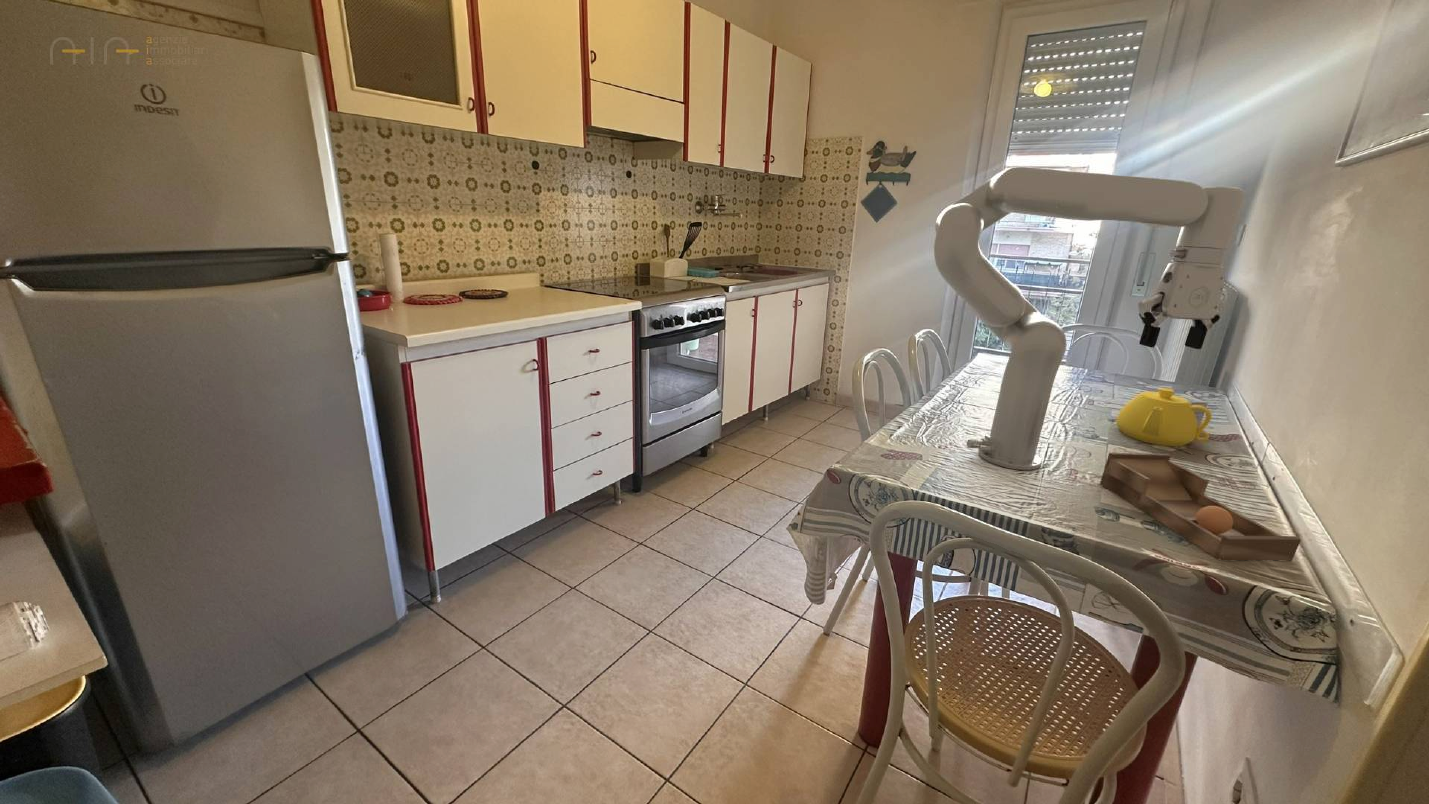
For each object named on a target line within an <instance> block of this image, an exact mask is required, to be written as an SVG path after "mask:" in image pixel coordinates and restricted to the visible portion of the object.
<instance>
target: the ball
mask: <svg viewBox="0 0 1429 804" xmlns="http://www.w3.org/2000/svg"><path fill="white" fill-rule="evenodd" d="M1196 521H1197V523H1198V525H1199V526H1201V527H1203V528H1204V529H1206V530H1208V531H1209V532H1211V533H1213V534H1221V533H1225V532H1227V531H1228V530H1230V529H1231V527H1232V525H1233V518H1232V516H1231V514H1230V513H1229V512H1228V511H1227V510H1225V509H1223V508H1221V507H1218V506H1206V507H1204V508H1202V509H1200V510H1199V511H1198V513H1197V515H1196Z"/></svg>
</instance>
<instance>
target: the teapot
mask: <svg viewBox="0 0 1429 804" xmlns="http://www.w3.org/2000/svg"><path fill="white" fill-rule="evenodd" d="M1174 393H1176V391H1175V390H1174V389H1171V388H1166V387H1159V388H1158V391H1143V392H1140V393H1139V394H1137V395H1136V396H1134V397H1133V398H1132V399H1130V400H1129V401H1128V402H1127V403H1126V404H1125V405H1124V406H1123V407H1122V408H1121V410H1120V411H1119V413H1118V415H1117V417H1116V419H1115V422H1116V425H1117V427H1118V429H1119V430H1120V431H1122V432H1121V433H1122V434H1123V435H1125V434H1126V436H1127V437H1129V438H1132V439H1134V440H1137V441H1140V440H1141V442H1144V443H1148V444H1152V445H1157V446H1163V447H1171V446H1173V448H1176V447H1177V448H1178V446H1179V447H1183V446H1185V445H1188V444H1190V443H1191V442H1194V440H1195V441H1198V442H1206V441H1208V440H1209V438H1210V434H1209V432H1208V431H1206V430H1205V428H1206V427H1207V426H1208V425H1209V423H1210V422H1211V420H1212V412H1211V410H1209V408H1207V407H1206V408H1205V407H1203V406H1200V405H1193V406H1191V405H1190V403H1189V401H1188V400H1186V399H1184V398H1181V397H1178V396H1175V395H1173V394H1174ZM1193 409H1196V410H1201V411H1204V412H1205V413H1204V414H1205V417H1204V420H1202V422H1201V425H1200V426H1199V427H1198V429H1197V420H1196V417H1195V414H1194V411H1193ZM1200 435H1204V436H1203V437H1201V436H1200Z"/></svg>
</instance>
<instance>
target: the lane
mask: <svg viewBox="0 0 1429 804" xmlns="http://www.w3.org/2000/svg"><path fill="white" fill-rule="evenodd" d="M1170 458H1171V455H1170V454H1169V453H1150V452H1149V453H1147V452H1146V453H1145V452H1108V456H1107V458H1106V463H1105V465H1104V469H1103V472H1102V475H1101V479H1100V482H1099V485H1101V486H1103V487H1105V489H1107V490H1109V491H1111V492H1112V493H1113V494H1115V495H1117V496H1118V497H1120V498H1121V499H1123V500H1124V501H1126V502H1128V503H1129V504H1131V505H1132V504H1133V505H1132V506H1134V507H1135V508H1137V507H1138V508H1137V509H1139V510H1140V511H1142V510H1143V511H1142V512H1143V513H1145V514H1146V513H1147V514H1146V515H1148V516H1149V517H1151V518H1153V520H1156V521H1157V522H1159V523H1160V524H1162V525H1163V526H1164V527H1166V528H1168V529H1170V530H1172V531H1173V532H1175V533H1176V534H1178V535H1179V536H1180V537H1182V536H1183V537H1182V538H1184V539H1185V540H1187V539H1188V541H1189V542H1190V541H1191V542H1190V543H1192V542H1193V543H1194V544H1193V543H1192V544H1193V545H1195V544H1196V545H1198V546H1199V547H1198V546H1197V547H1198V548H1199V549H1201V548H1202V549H1201V550H1203V551H1204V552H1206V553H1207V554H1209V553H1210V554H1211V556H1212V557H1213V558H1215V557H1216V559H1217V560H1218V559H1220V560H1292V561H1293V559H1294V557H1295V555H1296V552H1297V550H1298V548H1299V546H1300V543H1301V541H1302V539H1301V538H1299V537H1297V536H1295V535H1281V534H1280V533H1277V532H1275V531H1274V530H1272V529H1270V528H1268V527H1266V526H1264V525H1262V524H1261V523H1260V522H1259V523H1258V522H1257V521H1255V520H1253V519H1251V518H1249V517H1247V516H1245V515H1243V514H1242V513H1240V512H1239V511H1236V510H1234V509H1232V508H1230V507H1228V506H1226V505H1224V503H1221V502H1219V501H1217V500H1215V499H1214V498H1211V497H1209V496H1208V495H1205V492H1206V490H1207V487H1208V484H1209V481H1210V479H1208V478H1207V477H1204V476H1203V475H1200V474H1198V473H1196V472H1194V471H1192V470H1189V469H1188V468H1186V467H1184V466H1182V465H1181V464H1178V463H1176V462H1174V461H1172V460H1170ZM1206 506H1218V507H1221V508H1223V509H1225V510H1227V511H1228V512H1229V513H1230V514H1231V516H1232V518H1233V525H1232V527H1231V529H1230V530H1228V531H1227V532H1225V533H1221V534H1213V533H1211V532H1209V531H1208V530H1206V529H1204V528H1203V527H1201V526H1199V525H1198V523H1197V521H1196V515H1197V513H1198V511H1199V510H1200V509H1202V508H1204V507H1206ZM1196 545H1195V546H1196ZM1210 554H1209V555H1210ZM1220 560H1219V561H1220Z"/></svg>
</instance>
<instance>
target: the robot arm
mask: <svg viewBox="0 0 1429 804" xmlns="http://www.w3.org/2000/svg"><path fill="white" fill-rule="evenodd" d="M1245 198H1246V192H1245V190H1244V189H1242V188H1240V187H1234V186H1205V187H1203V186H1201V185H1200V184H1197V183H1196V182H1192V181H1186V180H1185V181H1184V180H1178V179H1177V180H1175V179H1164V178H1157V177H1156V178H1154V177H1141V176H1129V175H1128V176H1127V175H1116V174H1109V173H1108V174H1107V173H1097V172H1096V173H1095V172H1086V171H1085V172H1084V171H1075V170H1063V169H1051V168H1043V167H1031V166H1012V167H1009V168H1007V169H1004V170H1002V171H1001V172H998V173H997V174H995V175H994V176H992V177H991V178H990V179H988V180H987V181H986V182H984V183H982V184H981V185H980V186H978V187H977V188H975V189H974V190H972V191H970V192H969V193H968V194H966V195H964V196H962V198H960V199H958V200H956V201H955V202H953V203H952V204H951V205H949V206H947V207H946V208H944V209H943V210H942V212H941V213H939V215H938V217H937V218H936V222H935V224H934V225H935V226H934V227H935V240H934V245H933V255H934V261H935V265H936V267H937V270H938V272H939V274H940V275H941V277H942V278H943V280H944V281H945V282H946V283H947V284H948V286H950V287H951V288H952V289H953V291H954V292H955V293H956V294H957V295H958V296H959V297H960V298H961V300H963V301H964V302H965V303H966V304H967V305H968V306H969V308H970V309H971V311H972V313H973V314H974V315H975V316H976V318H978V319H979V320H980V321H981V322H982V323H983V324H984V326H986V327H987V328H988V330H990V331H991V332H992V333H993V334H994V335H995V336H996V337H997V338H998V339H999V340H1000V341H1002V343H1003V344H1004V345H1006V347H1007V348H1009V350H1010V353H1009V358H1008V361H1007V363H1006V365H1005V369H1004V371H1003V376H1002V379H1001V384H1000V389H999V393H998V398H997V403H996V407H995V411H994V416H993V419H992V424H991V429H990V433H989V434H985V436H984V438H981V439H967V441H966V447H967V448H968V449H978V454H979V456H980V457H981V458H982V459H984V460H985V461H986V462H989V463H991V464H993V465H997V466H1000V467H1003V468H1007V469H1011V470H1012V469H1013V470H1016V471H1017V470H1019V471H1033V470H1038V469H1039V468H1040V467H1041V466H1042V464H1043V463H1042V462H1043V461H1042V458H1041V457H1040V456H1039V455H1038V454H1037V450H1038V449H1037V448H1038V446H1039V442H1040V439H1041V437H1040V436H1041V434H1042V431H1043V426H1044V421H1045V420H1046V419H1045V418H1046V414H1047V411H1048V406H1049V403H1050V398H1051V394H1052V390H1053V386H1054V383H1055V379H1056V377H1057V373H1058V371H1059V368H1060V366H1061V364H1062V361H1063V359H1064V358H1065V357H1064V356H1065V353H1066V350H1067V338H1066V337H1067V336H1066V334H1065V332H1064V330H1063V328H1062V326H1060V325H1059V324H1058V323H1056V322H1055V321H1054V320H1052V319H1051V318H1049V317H1046V316H1045V315H1043V314H1042V313H1041V312H1040V311H1039V310H1038V309H1037V308H1036V307H1035V306H1034V305H1032V304H1031V303H1030V302H1029V300H1027V299H1026V298H1025V295H1024V294H1023V292H1022V291H1021V289H1020V288H1019V286H1017V285H1016V284H1015V283H1013V282H1012V281H1010V280H1009V279H1008V278H1006V276H1005V275H1003V274H1002V273H1001V272H1000V271H999V270H998V269H997V268H996V267H995V266H994V265H993V264H992V262H990V260H989V259H987V257H986V256H985V255H984V254H983V252H982V250H981V248H980V242H979V241H980V236H981V234H982V232H983V231H984V230H986V229H988V228H989V227H991V226H993V225H994V224H996V223H997V222H999V221H1000V220H1002V219H1003V218H1005V217H1006V216H1008V215H1009V214H1020V215H1021V214H1022V215H1032V216H1038V217H1039V216H1040V217H1047V218H1056V219H1064V220H1065V219H1066V220H1072V221H1085V222H1086V221H1091V222H1092V221H1117V222H1129V223H1139V224H1140V223H1141V224H1142V225H1144V226H1147V227H1151V228H1153V227H1154V228H1165V227H1166V228H1179V227H1181V228H1180V232H1179V235H1178V238H1177V242H1176V245H1175V248H1174V249H1173V250H1171V252H1170V254H1169V255H1170V257H1172V258H1171V262H1170V263H1168V264H1167V265H1166V268H1164V269H1165V270H1164V271H1163V273H1162V275H1161V278H1160V280H1159V282H1158V283H1157V286H1156V289H1155V291H1154V295H1151V296H1150V297H1147V298H1145V299H1142V300H1141V301H1139V302H1138V305H1137V306H1138V312H1139V314H1138V315H1139V317H1140V319H1141V324H1142V325H1144V326H1143V329H1142V332H1141V336H1140V339H1139V345H1142V346H1145V347H1148V348H1155V347H1156V345H1157V342H1158V338H1159V336H1160V332H1161V327H1160V326H1159V325H1161V324H1162V323H1163V322H1164V321H1165V320H1166V319H1168V318H1170V319H1177V320H1191V321H1192V323H1193V325H1194V326H1193V325H1191V326H1190V327H1189V330H1188V333H1187V336H1186V339H1185V342H1184V346H1185V347H1187V348H1191V349H1195V350H1201V349H1202V347H1203V344H1204V342H1205V338H1206V337H1207V332H1208V331H1209V330H1210V329H1212V328H1213V326H1214V324H1216V323H1217V322H1218V321H1219V320H1220V317H1222V316H1223V314H1224V313H1225V312H1226V310H1227V309H1228V306H1227V305H1226V304H1225V303H1223V302H1222V301H1221V298H1222V295H1223V292H1224V284H1225V281H1226V267H1225V266H1223V264H1224V261H1225V258H1226V256H1227V253H1228V249H1229V247H1230V243H1231V240H1232V236H1233V234H1234V232H1235V228H1236V225H1237V223H1238V219H1239V215H1240V214H1241V210H1242V207H1243V205H1244V201H1245Z"/></svg>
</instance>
